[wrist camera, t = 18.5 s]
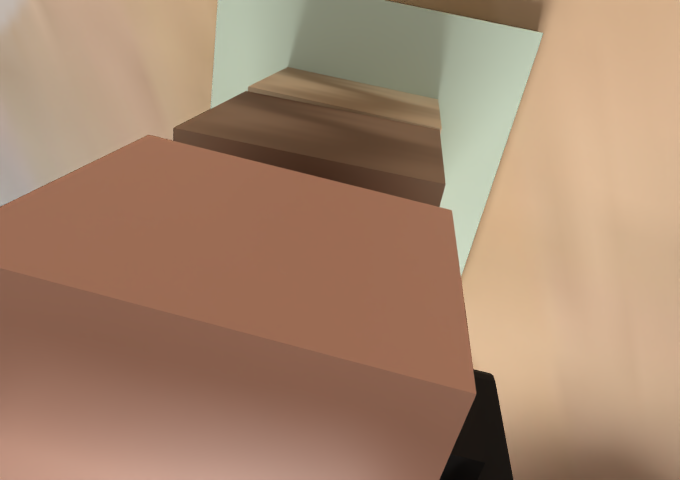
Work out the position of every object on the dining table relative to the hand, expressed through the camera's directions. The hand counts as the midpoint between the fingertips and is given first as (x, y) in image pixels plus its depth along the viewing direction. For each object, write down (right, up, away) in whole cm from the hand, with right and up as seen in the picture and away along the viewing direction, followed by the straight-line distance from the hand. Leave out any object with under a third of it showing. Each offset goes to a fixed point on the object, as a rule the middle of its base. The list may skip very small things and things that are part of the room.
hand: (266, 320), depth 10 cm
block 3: (0, 0, +1) cm, 1 cm away
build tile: (+2, +6, +12) cm, 13 cm away
